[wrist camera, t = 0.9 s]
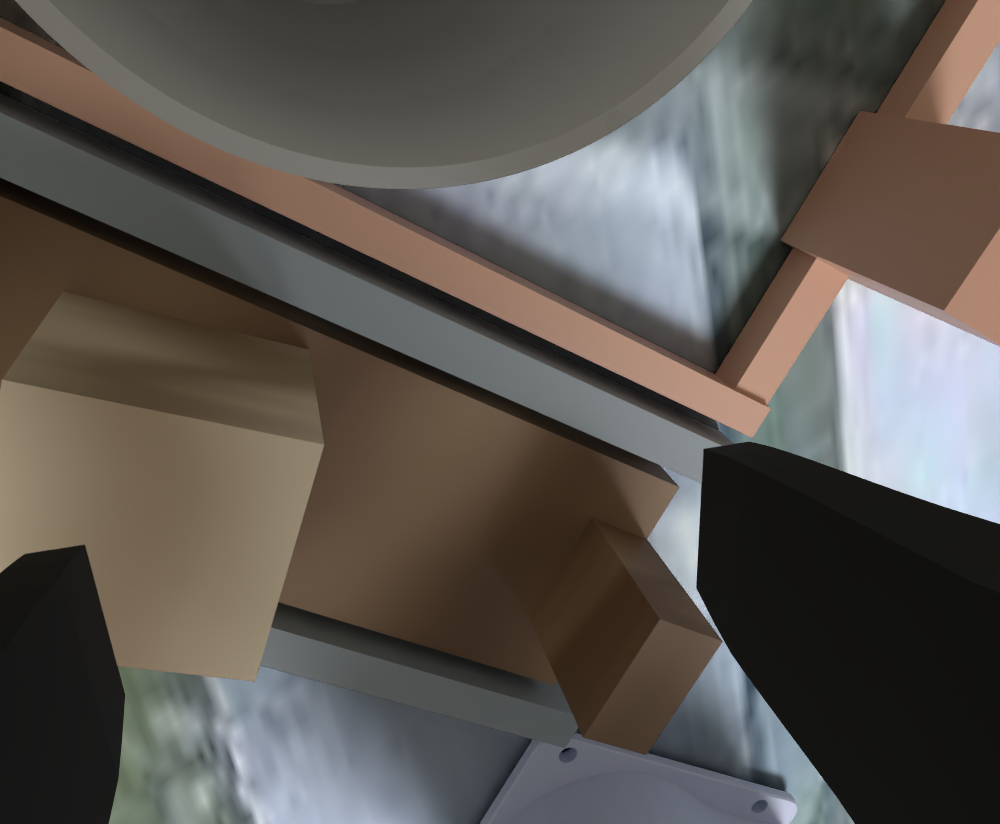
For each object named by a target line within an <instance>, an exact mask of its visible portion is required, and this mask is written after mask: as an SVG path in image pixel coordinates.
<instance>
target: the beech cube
mask: <svg viewBox="0 0 1000 824" xmlns="http://www.w3.org/2000/svg"><path fill="white" fill-rule="evenodd" d="M323 447H324V440H323V434H322V428H321V421H320V415H319V409H318V402H317V396H316V390H315V384H314V377H313V371H312V365H311V358H310V352H309V349H305V348H301V347H297V346H293V345H288V344H284V343H280V342H276V341H272V340H267V339H263V338H259V337H255V336H250V335H246V334H242V333H238V332H233V331H229V330H225V329H221V328H217V327H212V326H208V325H204V324H200V323H195V322H191V321H187V320H183V319H179V318H174V317H170V316H166V315H162V314H157V313H153V312H149V311H145V310H140V309H136V308H132V307H128V306H124V305H119V304H115V303H111V302H107V301H102V300H98V299H94V298H90V297H85V296H81V295H77V294H73V293H69V292H64V291H63V292H62V294H61V295H60V297H59V298H58V300H57V301H56V302H55V304H54V305H53V307H52V308H51V310H50V311H49V313H48V314H47V315H46V317H45V318H44V320H43V321H42V323H41V324H40V326H39V327H38V328H37V330H36V331H35V333H34V334H33V336H32V337H31V339H30V340H29V341H28V343H27V344H26V346H25V347H24V349H23V350H22V351H21V353H20V354H19V356H18V357H17V359H16V360H15V362H14V363H13V364H12V366H11V367H10V369H9V370H8V372H7V373H6V375H5V376H4V377H3V379H2V383H1V389H0V573H1V572H2V571H3V570H4V569H6V568H7V567H8V566H9V565H10V564H12V563H13V562H14V561H16V560H17V559H18V558H20V557H21V556H22V555H24V554H27V553H33V552H40V551H46V550H53V549H59V548H66V547H72V546H79V545H85V546H86V550H87V554H88V557H89V561H90V565H91V569H92V572H93V576H94V580H95V584H96V588H97V591H98V595H99V599H100V603H101V606H102V610H103V614H104V618H105V621H106V625H107V629H108V633H109V636H110V640H111V644H112V648H113V651H114V655H115V659H116V663H117V666H120V667H129V668H138V669H147V670H156V671H165V672H174V673H183V674H192V675H201V676H210V677H219V678H228V679H237V680H246V681H255V680H256V677H257V673H258V670H259V666H260V663H261V659H262V656H263V653H264V649H265V646H266V642H267V639H268V636H269V632H270V629H271V625H272V622H273V618H274V615H275V612H276V608H277V605H278V601H279V598H280V594H281V591H282V588H283V584H284V581H285V577H286V574H287V571H288V567H289V564H290V560H291V557H292V553H293V550H294V547H295V543H296V540H297V536H298V533H299V529H300V526H301V523H302V519H303V516H304V512H305V509H306V505H307V502H308V499H309V495H310V492H311V488H312V485H313V482H314V478H315V475H316V471H317V468H318V464H319V461H320V458H321V454H322V451H323Z"/></svg>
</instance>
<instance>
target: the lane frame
mask: <svg viewBox="0 0 1000 824" xmlns="http://www.w3.org/2000/svg"><path fill="white" fill-rule="evenodd" d="M0 178H2V179H5V180H7V181H9V182H12V183H14V184H16V185H18V186H21V187H23V188H25V189H28V190H30V191H32V192H35V193H37V194H39V195H41V196H44V197H46V198H48V199H51V200H53V201H55V202H57V203H60V204H62V205H64V206H67V207H69V208H71V209H73V210H76V211H78V212H80V213H83V214H85V215H87V216H90V217H92V218H94V219H96V220H99V221H101V222H103V223H106V224H108V225H110V226H112V227H115V228H117V229H119V230H122V231H124V232H126V233H129V234H131V235H133V236H135V237H138V238H140V239H142V240H145V241H147V242H149V243H151V244H154V245H156V246H158V247H161V248H163V249H165V250H167V251H170V252H172V253H174V254H177V255H179V256H181V257H184V258H186V259H188V260H190V261H193V262H195V263H197V264H200V265H202V266H204V267H206V268H209V269H211V270H213V271H216V272H218V273H220V274H223V275H225V276H227V277H229V278H232V279H234V280H236V281H239V282H241V283H243V284H245V285H248V286H250V287H252V288H255V289H257V290H259V291H261V292H264V293H266V294H268V295H271V296H273V297H275V298H278V299H280V300H282V301H284V302H287V303H289V304H291V305H294V306H296V307H298V308H300V309H303V310H305V311H307V312H310V313H312V314H314V315H317V316H319V317H321V318H323V319H326V320H328V321H330V322H333V323H335V324H337V325H339V326H342V327H344V328H346V329H349V330H351V331H353V332H355V333H358V334H360V335H362V336H365V337H367V338H369V339H372V340H374V341H376V342H378V343H381V344H383V345H385V346H388V347H390V348H392V349H394V350H397V351H399V352H401V353H404V354H406V355H408V356H411V357H413V358H415V359H417V360H420V361H422V362H424V363H427V364H429V365H431V366H433V367H436V368H438V369H440V370H443V371H445V372H447V373H449V374H452V375H454V376H456V377H459V378H461V379H463V380H466V381H468V382H470V383H472V384H475V385H477V386H479V387H482V388H484V389H486V390H488V391H491V392H493V393H495V394H498V395H500V396H502V397H505V398H507V399H509V400H511V401H514V402H516V403H518V404H521V405H523V406H525V407H527V408H530V409H532V410H534V411H537V412H539V413H541V414H543V415H546V416H548V417H550V418H553V419H555V420H557V421H560V422H562V423H564V424H566V425H569V426H571V427H573V428H576V429H578V430H580V431H582V432H585V433H587V434H589V435H592V436H594V437H596V438H599V439H601V440H603V441H605V442H608V443H610V444H612V445H615V446H617V447H619V448H621V449H624V450H626V451H628V452H631V453H633V454H635V455H638V456H640V457H642V458H644V459H647V460H649V461H651V462H654V463H656V464H658V465H660V466H663V467H665V468H667V469H670V470H672V471H674V472H676V473H679V474H681V475H683V476H686V477H688V478H690V479H693V480H695V481H697V482H699V483H702V469H703V449H705V448H712V447H718V446H725V445H731V444H734V443H733V442H731V441H730V440H729V439H728V438H727V437H726V436H725V435H724V434H723V433H721V432H720V431H718V430H716V429H714V428H712V427H710V426H708V425H706V424H703V423H701V422H699V421H697V420H695V419H693V418H691V417H688V416H686V415H684V414H682V413H680V412H678V411H676V410H674V409H671V408H669V407H667V406H665V405H663V404H661V403H659V402H657V401H654V400H652V399H650V398H648V397H646V396H644V395H642V394H639V393H637V392H635V391H633V390H631V389H629V388H627V387H625V386H622V385H620V384H618V383H616V382H614V381H612V380H610V379H608V378H605V377H603V376H601V375H599V374H597V373H595V372H593V371H590V370H588V369H586V368H584V367H582V366H580V365H578V364H576V363H573V362H571V361H569V360H567V359H565V358H563V357H561V356H559V355H556V354H554V353H552V352H550V351H548V350H546V349H544V348H541V347H539V346H537V345H535V344H533V343H531V342H529V341H527V340H524V339H522V338H520V337H518V336H516V335H514V334H512V333H510V332H507V331H505V330H503V329H501V328H499V327H497V326H495V325H492V324H490V323H488V322H486V321H484V320H482V319H480V318H478V317H475V316H473V315H471V314H469V313H467V312H465V311H463V310H461V309H458V308H456V307H454V306H452V305H450V304H448V303H446V302H443V301H441V300H439V299H437V298H435V297H433V296H431V295H429V294H426V293H424V292H422V291H420V290H418V289H416V288H414V287H412V286H409V285H407V284H405V283H403V282H401V281H399V280H397V279H394V278H392V277H390V276H388V275H386V274H384V273H382V272H380V271H377V270H375V269H373V268H371V267H369V266H367V265H365V264H363V263H360V262H358V261H356V260H354V259H352V258H350V257H348V256H345V255H343V254H341V253H339V252H337V251H335V250H333V249H331V248H328V247H326V246H324V245H322V244H320V243H318V242H316V241H314V240H311V239H309V238H307V237H305V236H303V235H301V234H299V233H296V232H294V231H292V230H290V229H288V228H286V227H284V226H282V225H279V224H277V223H275V222H273V221H271V220H269V219H267V218H265V217H262V216H260V215H258V214H256V213H254V212H252V211H250V210H247V209H245V208H243V207H241V206H239V205H237V204H235V203H233V202H230V201H228V200H226V199H224V198H222V197H220V196H218V195H216V194H213V193H211V192H209V191H207V190H205V189H203V188H201V187H198V186H196V185H194V184H192V183H190V182H188V181H186V180H184V179H181V178H179V177H177V176H175V175H173V174H171V173H169V172H167V171H164V170H162V169H160V168H158V167H156V166H154V165H152V164H149V163H147V162H145V161H143V160H141V159H139V158H137V157H135V156H132V155H130V154H128V153H126V152H124V151H122V150H120V149H118V148H115V147H113V146H111V145H109V144H107V143H105V142H103V141H101V140H98V139H96V138H94V137H92V136H90V135H88V134H86V133H83V132H81V131H79V130H77V129H75V128H73V127H71V126H69V125H66V124H64V123H62V122H60V121H58V120H56V119H54V118H52V117H49V116H47V115H45V114H43V113H41V112H39V111H37V110H34V109H32V108H30V107H28V106H26V105H24V104H22V103H20V102H17V101H15V100H13V99H11V98H9V97H7V96H5V95H3V94H0ZM260 666H264V667H268V668H271V669H275V670H279V671H282V672H286V673H290V674H293V675H297V676H301V677H304V678H308V679H312V680H316V681H319V682H323V683H327V684H330V685H334V686H338V687H341V688H345V689H349V690H352V691H356V692H360V693H363V694H367V695H371V696H375V697H378V698H382V699H386V700H389V701H393V702H397V703H400V704H404V705H408V706H411V707H415V708H419V709H422V710H426V711H430V712H433V713H437V714H441V715H445V716H448V717H452V718H456V719H459V720H463V721H467V722H470V723H474V724H478V725H481V726H485V727H489V728H492V729H496V730H500V731H504V732H507V733H511V734H515V735H518V736H522V737H526V738H529V739H533V740H537V741H540V742H544V743H548V744H551V745H555V746H559V747H563V748H566V746H567V744H568V743H569V741H570V740H571V738H572V737H573V735H574V734H575V732H576V731H577V729H578V725H577V723H576V721H575V718H574V716H573V714H572V712H571V709H570V707H569V705H568V703H567V701H566V698H565V696H564V694H563V692H562V690H561V687H560V685H559V683H558V681H557V683H556V684H555V685H552V684H548V683H545V682H542V681H538V680H535V679H532V678H528V677H525V676H522V675H518V674H515V673H512V672H508V671H505V670H502V669H499V668H495V667H492V666H489V665H485V664H482V663H479V662H475V661H472V660H469V659H465V658H462V657H459V656H455V655H452V654H449V653H445V652H442V651H439V650H435V649H432V648H429V647H426V646H422V645H419V644H416V643H412V642H409V641H406V640H402V639H399V638H396V637H392V636H389V635H386V634H382V633H379V632H376V631H372V630H369V629H366V628H363V627H359V626H356V625H353V624H349V623H346V622H343V621H339V620H336V619H333V618H329V617H326V616H323V615H319V614H316V613H313V612H309V611H306V610H303V609H300V608H296V607H293V606H290V605H286V604H283V603H280V602H278V605H277V608H276V612H275V615H274V618H273V622H272V625H271V629H270V632H269V636H268V639H267V642H266V646H265V649H264V653H263V656H262V659H261V663H260Z"/></svg>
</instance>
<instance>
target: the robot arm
mask: <svg viewBox="0 0 1000 824" xmlns="http://www.w3.org/2000/svg"><path fill="white" fill-rule="evenodd" d="M696 588H697V590H698V592H699V594H700V596H701V598H702V600H703V602H704V604H705V606H706V608H707V610H708V612H709V614H710V616H711V617H712V619H713V621H714V623H715V625H716V627H717V629H718V631H719V632H720V634H721V636H722V638H723V640H724V641H725V643H726V645H727V647H728V648H729V650H730V652H731V654H732V655H733V657H734V658H735V659H736V661H737V662H738V664H739V665H740V666H741V668H742V669H743V671H744V672H745V673H746V675H747V676H748V678H749V679H750V680H751V682H752V683H753V684H754V686H755V687H756V689H757V690H758V691H759V693H760V694H761V695H762V697H763V698H764V700H765V701H766V702H767V704H768V705H769V706H770V708H771V709H772V710H773V712H774V713H775V714H776V716H777V717H778V718H779V720H780V721H781V723H782V724H783V725H784V727H785V728H786V729H787V731H788V732H789V733H790V735H791V736H792V737H793V739H794V740H795V741H796V743H797V744H798V745H799V747H800V748H801V749H802V751H803V752H804V753H805V755H806V756H807V757H808V759H809V760H810V762H811V763H812V764H813V766H814V767H815V768H816V770H817V771H818V772H819V774H820V775H821V776H822V778H823V779H824V780H825V782H826V783H827V784H828V786H829V787H830V788H831V790H832V791H833V792H834V794H835V795H836V796H837V798H838V799H839V801H840V802H841V804H842V805H843V807H844V808H845V810H846V811H847V813H848V814H849V816H850V817H851V819H852V820H853V821H854V823H855V824H1000V524H997V523H994V522H991V521H988V520H984V519H981V518H978V517H975V516H971V515H968V514H965V513H962V512H959V511H955V510H952V509H949V508H946V507H943V506H940V505H937V504H934V503H931V502H928V501H925V500H922V499H919V498H916V497H913V496H910V495H907V494H904V493H901V492H899V491H896V490H893V489H890V488H887V487H885V486H882V485H879V484H876V483H873V482H871V481H868V480H865V479H862V478H860V477H857V476H854V475H851V474H849V473H846V472H843V471H840V470H837V469H835V468H832V467H829V466H826V465H824V464H821V463H818V462H815V461H813V460H810V459H807V458H804V457H801V456H798V455H795V454H792V453H789V452H786V451H783V450H780V449H776V448H773V447H769V446H766V445H762V444H757V443H753V442H744V443H737V444H731V445H725V446H718V447H712V448H705V449H703V469H702V488H701V508H700V527H699V547H698V567H697V586H696ZM124 703H125V693H124V689H123V685H122V681H121V678H120V674H119V670H118V666H117V663H116V659H115V655H114V651H113V648H112V644H111V640H110V636H109V633H108V629H107V625H106V621H105V618H104V614H103V610H102V606H101V603H100V599H99V595H98V591H97V588H96V584H95V580H94V576H93V572H92V569H91V565H90V561H89V557H88V554H87V550H86V546H85V545H79V546H72V547H66V548H59V549H53V550H46V551H40V552H33V553H27V554H24V555H22V556H21V557H20V558H18V559H17V560H16V561H14V562H13V563H12V564H10V565H9V566H8V567H7V568H6V569H4V570H3V571H2V572H1V573H0V824H109V819H110V815H111V810H112V806H113V801H114V796H115V792H116V787H117V782H118V776H119V766H120V755H121V744H122V732H123V717H124ZM566 748H570V749H569V750H568V751H566V752H562V751H563V750H564V749H566ZM566 748H563V747H559V746H555V745H551V744H548V743H544V742H540V741H537V740H532V741H531V743H530V745H529V746H528V748H527V749H526V751H525V752H524V754H523V756H522V757H521V759H520V760H519V762H518V764H517V765H516V767H515V768H514V770H513V771H512V773H511V775H510V776H509V778H508V779H507V781H506V783H505V784H504V786H503V787H502V789H501V790H500V792H499V794H498V795H497V797H496V798H495V800H494V802H493V803H492V805H491V806H490V808H489V809H488V811H487V813H486V814H485V816H484V817H483V819H482V821H481V822H480V824H789V823H790V822H791V820H792V819H793V818H794V816H795V814H796V812H797V810H798V805H797V803H796V801H795V800H794V798H793V797H792V795H791V794H789V793H788V792H785V791H781V790H777V789H774V788H770V787H767V786H763V785H760V784H756V783H753V782H749V781H745V780H742V779H738V778H735V777H731V776H728V775H724V774H720V773H717V772H713V771H710V770H706V769H703V768H699V767H695V766H692V765H688V764H685V763H681V762H678V761H674V760H671V759H667V758H663V757H660V756H656V755H653V754H649V753H647V754H646V755H644V754H640V753H637V752H633V751H629V750H626V749H622V748H619V747H615V746H612V745H608V744H604V743H601V742H597V741H594V740H590V739H586V738H583V736H582V735H581V734H578V733H575V734H574V735H573V737H572V738H571V740H570V741H569V743H568V744H567V746H566Z"/></svg>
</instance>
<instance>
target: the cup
mask: <svg viewBox="0 0 1000 824" xmlns="http://www.w3.org/2000/svg"><path fill="white" fill-rule="evenodd" d="M15 1H16V2H17V3H18V4H19V5H20V7H21V8H22V9H23V10H24V11H25V12H26V13H27V14H28V15H29V16H30V17H31V18H32V19H33V20H34V21H35V22H36V23H37V24H38V25H39V26H40V27H41V28H42V29H43V30H44V31H45V32H46V33H48V34H49V35H50V36H51V37H52V38H53V39H54V40H55V41H56V42H57V43H59V44H60V45H61V46H62V47H63V48H64V49H65V50H66V51H67V52H69V53H70V54H71V55H72V56H73V57H75V58H76V59H77V60H78V61H79V62H81V63H82V64H83V65H84V66H85V67H87V68H88V69H89V70H90V71H92V72H93V73H94V74H95V75H97V76H98V77H99V78H101V79H102V80H103V81H105V82H106V83H107V84H109V85H110V86H111V87H113V88H114V89H116V90H117V91H118V92H120V93H121V94H123V95H124V96H126V97H127V98H128V99H130V100H131V101H133V102H134V103H136V104H137V105H139V106H141V107H142V108H144V109H145V110H147V111H148V112H150V113H152V114H153V115H155V116H157V117H158V118H160V119H162V120H163V121H165V122H167V123H169V124H170V125H172V126H174V127H176V128H177V129H179V130H181V131H183V132H185V133H187V134H189V135H191V136H193V137H195V138H197V139H199V140H201V141H203V142H205V143H207V144H210V145H212V146H214V147H216V148H218V149H220V150H223V151H225V152H228V153H230V154H233V155H235V156H238V157H240V158H243V159H245V160H248V161H251V162H254V163H257V164H259V165H262V166H265V167H268V168H272V169H275V170H278V171H282V172H285V173H289V174H293V175H297V176H301V177H305V178H309V179H314V180H319V181H324V182H329V183H335V184H342V185H349V186H357V187H367V188H382V189H427V188H441V187H451V186H459V185H466V184H472V183H478V182H483V181H488V180H493V179H497V178H501V177H505V176H509V175H513V174H516V173H520V172H523V171H526V170H529V169H532V168H535V167H538V166H541V165H544V164H546V163H549V162H552V161H554V160H557V159H559V158H561V157H564V156H566V155H568V154H571V153H573V152H575V151H577V150H579V149H581V148H583V147H585V146H587V145H590V144H591V143H593V142H595V141H597V140H599V139H601V138H602V137H604V136H606V135H608V134H610V133H611V132H613V131H614V130H616V129H618V128H619V127H621V126H623V125H624V124H626V123H627V122H629V121H630V120H632V119H633V118H635V117H636V116H638V115H639V114H641V113H642V112H643V111H645V110H646V109H647V108H649V107H650V106H651V105H653V104H654V103H655V102H657V101H658V100H659V99H660V98H662V97H663V96H664V95H665V94H667V93H668V92H669V91H670V90H671V89H673V88H674V87H675V86H676V85H677V84H678V83H679V82H681V81H682V80H683V79H684V78H685V77H686V76H687V75H688V74H689V73H690V72H691V71H692V70H693V69H694V68H695V67H696V66H697V65H698V64H700V63H701V62H702V61H703V60H704V59H705V58H706V56H707V55H708V54H709V53H710V52H711V51H712V50H713V49H714V48H715V47H716V46H717V45H718V43H719V42H720V41H721V40H722V39H723V38H724V37H725V35H726V34H727V33H728V32H729V31H730V29H731V28H732V27H733V26H734V25H735V23H736V22H737V21H738V20H739V18H740V17H741V16H742V14H743V13H744V12H745V10H746V9H747V8H748V7H749V5H750V4H751V2H752V1H753V0H15Z"/></svg>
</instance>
